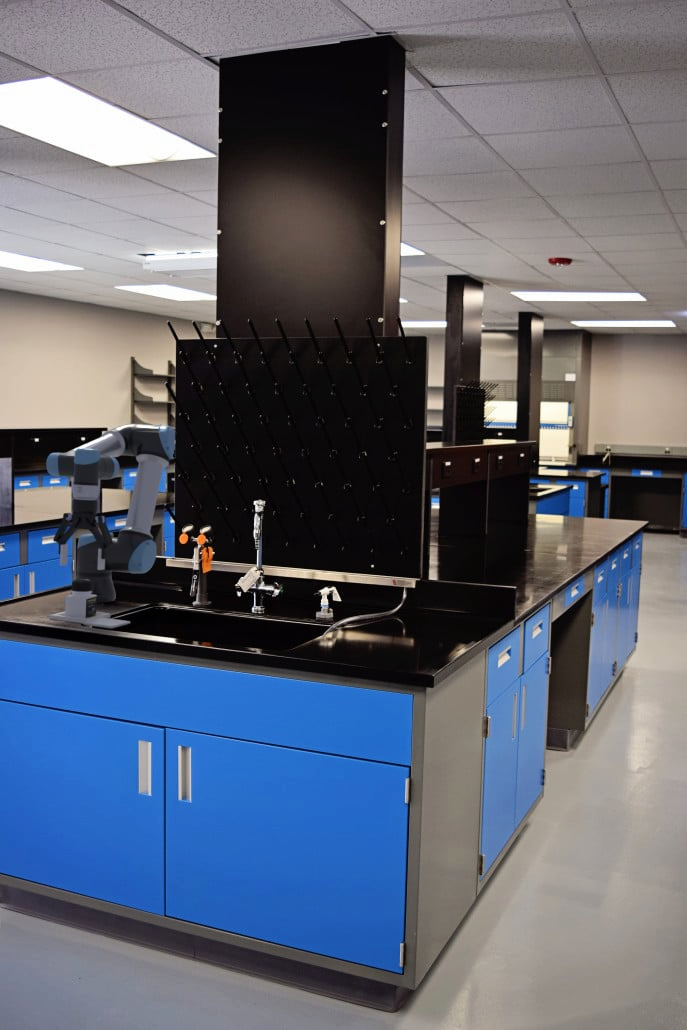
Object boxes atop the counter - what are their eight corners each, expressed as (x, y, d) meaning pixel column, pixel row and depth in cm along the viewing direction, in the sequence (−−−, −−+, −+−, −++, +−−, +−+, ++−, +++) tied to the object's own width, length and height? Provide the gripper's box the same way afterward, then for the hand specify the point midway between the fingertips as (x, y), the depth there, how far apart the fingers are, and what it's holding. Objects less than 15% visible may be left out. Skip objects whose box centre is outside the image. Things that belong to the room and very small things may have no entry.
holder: (75, 612, 300) (75, 609, 300) (110, 617, 296) (110, 613, 296) (49, 618, 288) (49, 614, 288) (86, 623, 284) (86, 619, 283)
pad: (102, 619, 292) (102, 617, 292) (130, 623, 288) (130, 621, 288) (83, 624, 282) (83, 622, 282) (111, 628, 279) (111, 626, 279)
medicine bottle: (85, 621, 288) (87, 582, 287) (64, 619, 289) (65, 580, 288) (96, 617, 295) (98, 579, 294) (75, 615, 296) (76, 577, 295)
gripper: (43, 496, 290) (40, 564, 291) (113, 502, 282) (110, 572, 283) (58, 495, 297) (55, 562, 298) (127, 501, 289) (123, 570, 290)
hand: (82, 567), depth 290 cm, fingers open, 13 cm apart
